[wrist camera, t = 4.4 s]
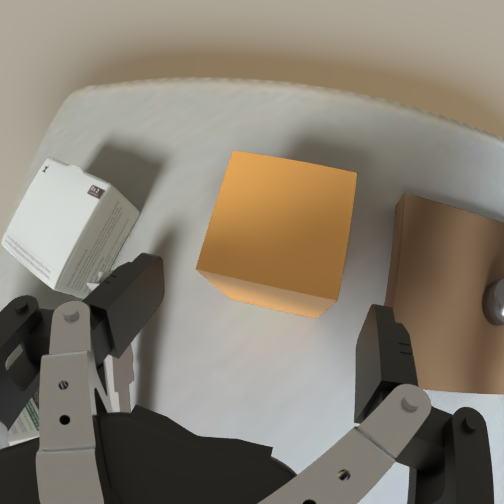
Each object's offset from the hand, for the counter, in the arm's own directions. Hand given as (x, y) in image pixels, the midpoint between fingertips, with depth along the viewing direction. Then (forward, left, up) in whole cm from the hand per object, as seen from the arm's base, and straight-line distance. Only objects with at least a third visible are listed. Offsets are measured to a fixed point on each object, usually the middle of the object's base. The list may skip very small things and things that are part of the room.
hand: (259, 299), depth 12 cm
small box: (+15, -2, -9) cm, 18 cm away
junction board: (-15, -3, -8) cm, 17 cm away
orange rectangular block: (0, -3, -8) cm, 9 cm away
